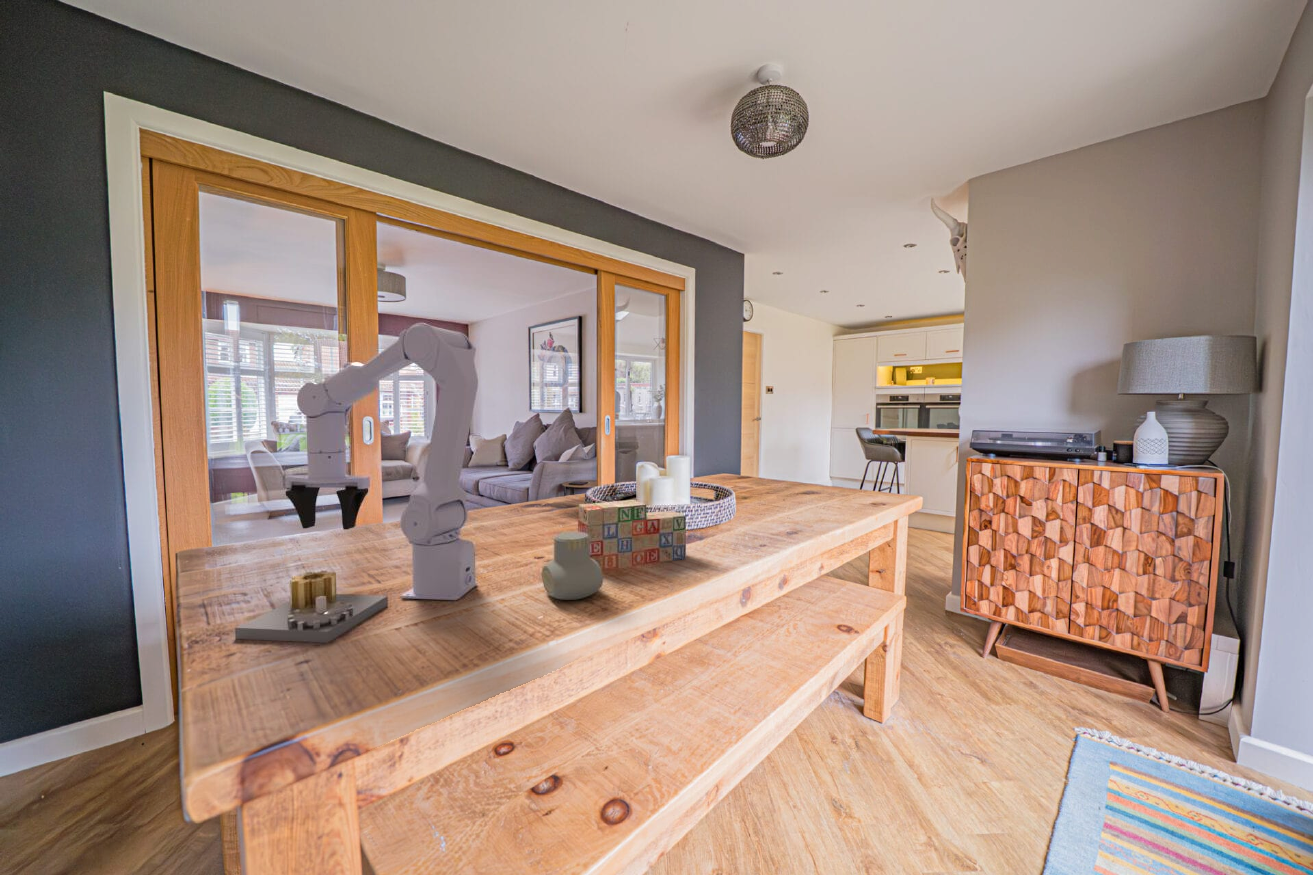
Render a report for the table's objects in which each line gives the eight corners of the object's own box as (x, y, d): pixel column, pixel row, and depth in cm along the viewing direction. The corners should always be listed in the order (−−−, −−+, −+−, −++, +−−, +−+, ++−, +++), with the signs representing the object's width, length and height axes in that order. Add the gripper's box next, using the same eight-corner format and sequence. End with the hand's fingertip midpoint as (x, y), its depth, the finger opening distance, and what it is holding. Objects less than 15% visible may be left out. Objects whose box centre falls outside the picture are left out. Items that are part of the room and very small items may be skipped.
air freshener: (539, 588, 88) (538, 531, 87) (584, 580, 92) (584, 526, 91) (557, 610, 78) (557, 546, 78) (607, 601, 82) (607, 540, 81)
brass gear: (344, 595, 79) (343, 570, 79) (322, 609, 74) (321, 582, 73) (306, 596, 79) (305, 570, 79) (281, 610, 73) (280, 583, 73)
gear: (365, 609, 74) (365, 602, 74) (327, 631, 66) (327, 624, 66) (316, 607, 75) (315, 600, 74) (273, 629, 67) (272, 621, 67)
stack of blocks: (672, 552, 111) (673, 496, 110) (686, 559, 105) (686, 501, 105) (577, 563, 102) (577, 503, 101) (587, 573, 96) (587, 508, 96)
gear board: (387, 605, 79) (387, 576, 79) (327, 642, 66) (326, 609, 66) (309, 602, 80) (308, 574, 80) (235, 638, 67) (234, 605, 67)
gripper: (379, 450, 93) (381, 523, 94) (305, 449, 95) (307, 521, 95) (354, 454, 86) (355, 532, 87) (274, 452, 88) (276, 530, 88)
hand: (328, 527), depth 91 cm, fingers open, 7 cm apart
